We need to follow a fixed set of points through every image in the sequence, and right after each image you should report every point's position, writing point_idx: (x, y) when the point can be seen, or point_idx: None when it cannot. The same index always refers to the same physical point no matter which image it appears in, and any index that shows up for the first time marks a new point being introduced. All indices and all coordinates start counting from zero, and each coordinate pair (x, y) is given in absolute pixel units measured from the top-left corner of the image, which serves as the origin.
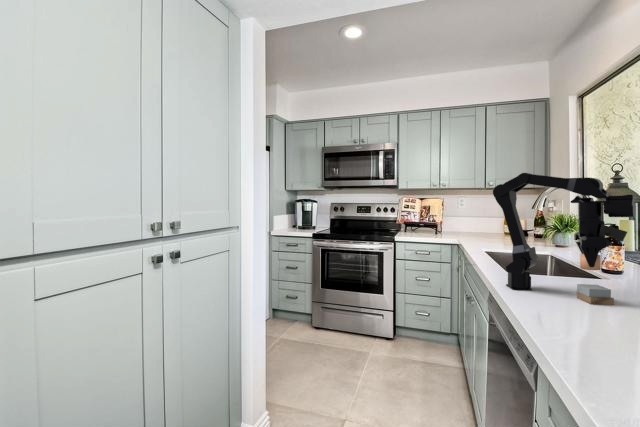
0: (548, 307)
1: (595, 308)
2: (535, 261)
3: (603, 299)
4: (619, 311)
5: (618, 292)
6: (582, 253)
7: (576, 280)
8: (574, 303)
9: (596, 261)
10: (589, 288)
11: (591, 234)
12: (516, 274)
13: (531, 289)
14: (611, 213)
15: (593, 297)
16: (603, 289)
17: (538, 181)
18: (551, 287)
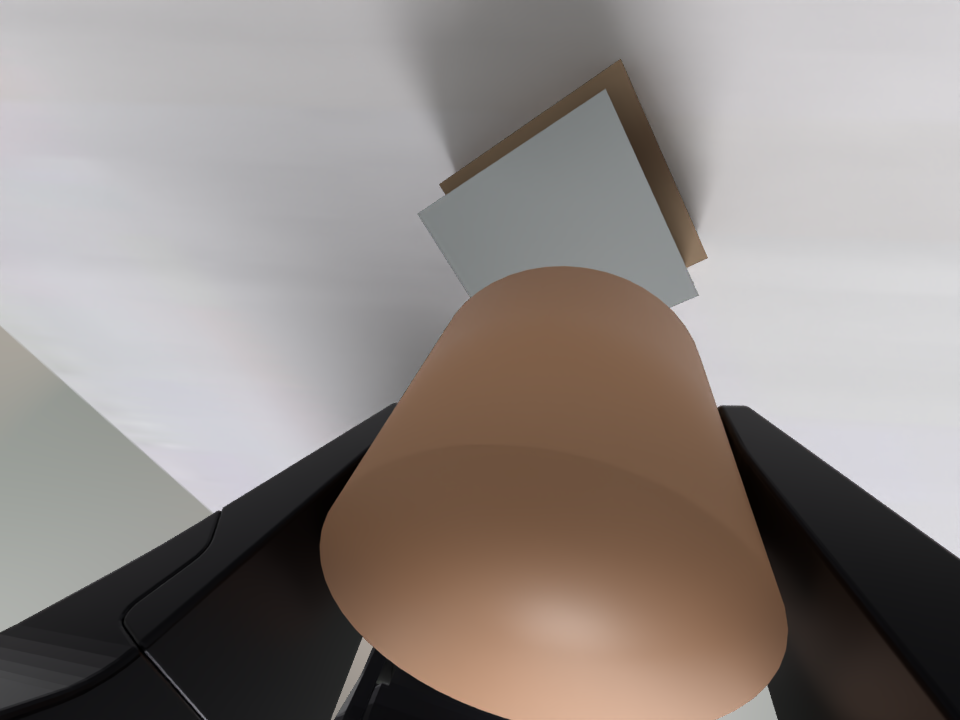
0: (916, 482)
1: (810, 209)
2: (411, 716)
3: (660, 153)
4: (840, 15)
5: (114, 18)
6: (353, 656)
7: (26, 290)
8: (712, 337)
9: (724, 439)
10: (667, 293)
11: None
12: None
13: None
14: None
15: (679, 235)
16: (639, 167)
17: None
18: (340, 428)
